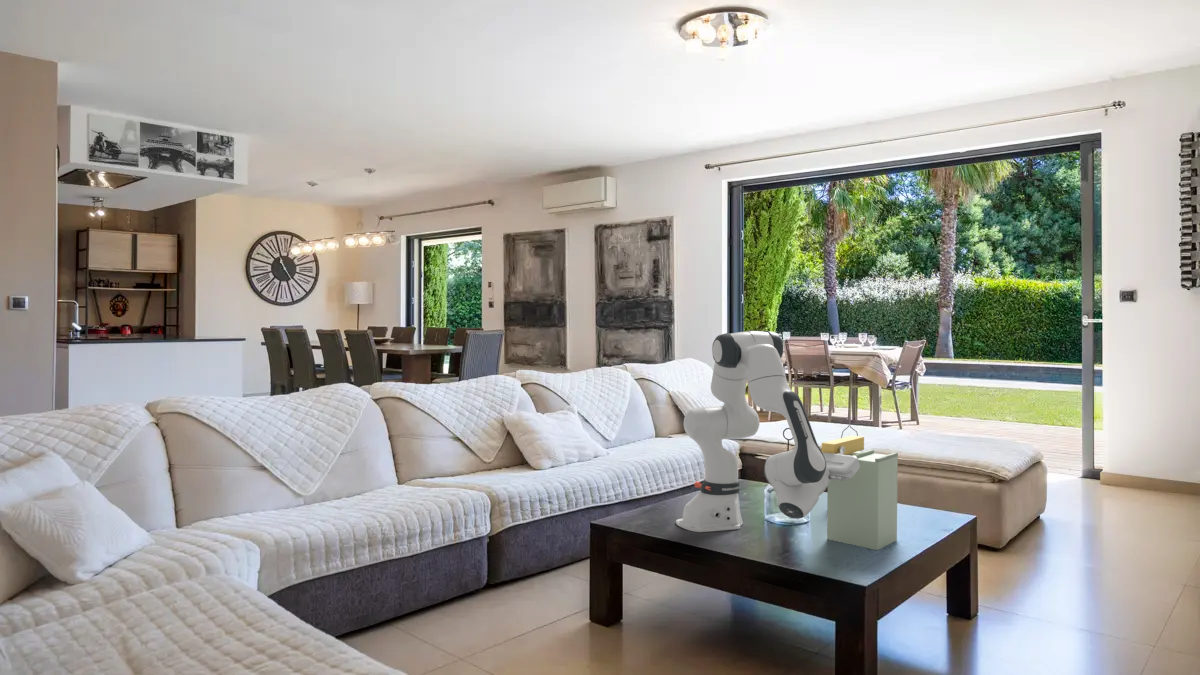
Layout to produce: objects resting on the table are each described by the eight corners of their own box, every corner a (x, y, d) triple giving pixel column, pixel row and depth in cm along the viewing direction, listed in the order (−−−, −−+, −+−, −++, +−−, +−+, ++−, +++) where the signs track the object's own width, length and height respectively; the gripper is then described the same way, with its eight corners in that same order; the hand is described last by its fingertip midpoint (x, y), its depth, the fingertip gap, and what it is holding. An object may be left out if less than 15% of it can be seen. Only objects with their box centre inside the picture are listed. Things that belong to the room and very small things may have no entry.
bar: (834, 457, 228) (834, 444, 228) (821, 456, 231) (821, 442, 231) (864, 449, 243) (864, 436, 242) (851, 448, 245) (851, 435, 245)
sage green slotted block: (877, 550, 228) (878, 459, 228) (827, 539, 239) (827, 452, 239) (896, 540, 239) (897, 452, 238) (847, 530, 249) (848, 447, 249)
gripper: (846, 472, 215) (865, 442, 224) (781, 463, 229) (801, 435, 238) (851, 489, 218) (869, 459, 226) (786, 479, 232) (806, 451, 240)
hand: (834, 447), depth 232 cm, fingers closed on bar, 4 cm apart
